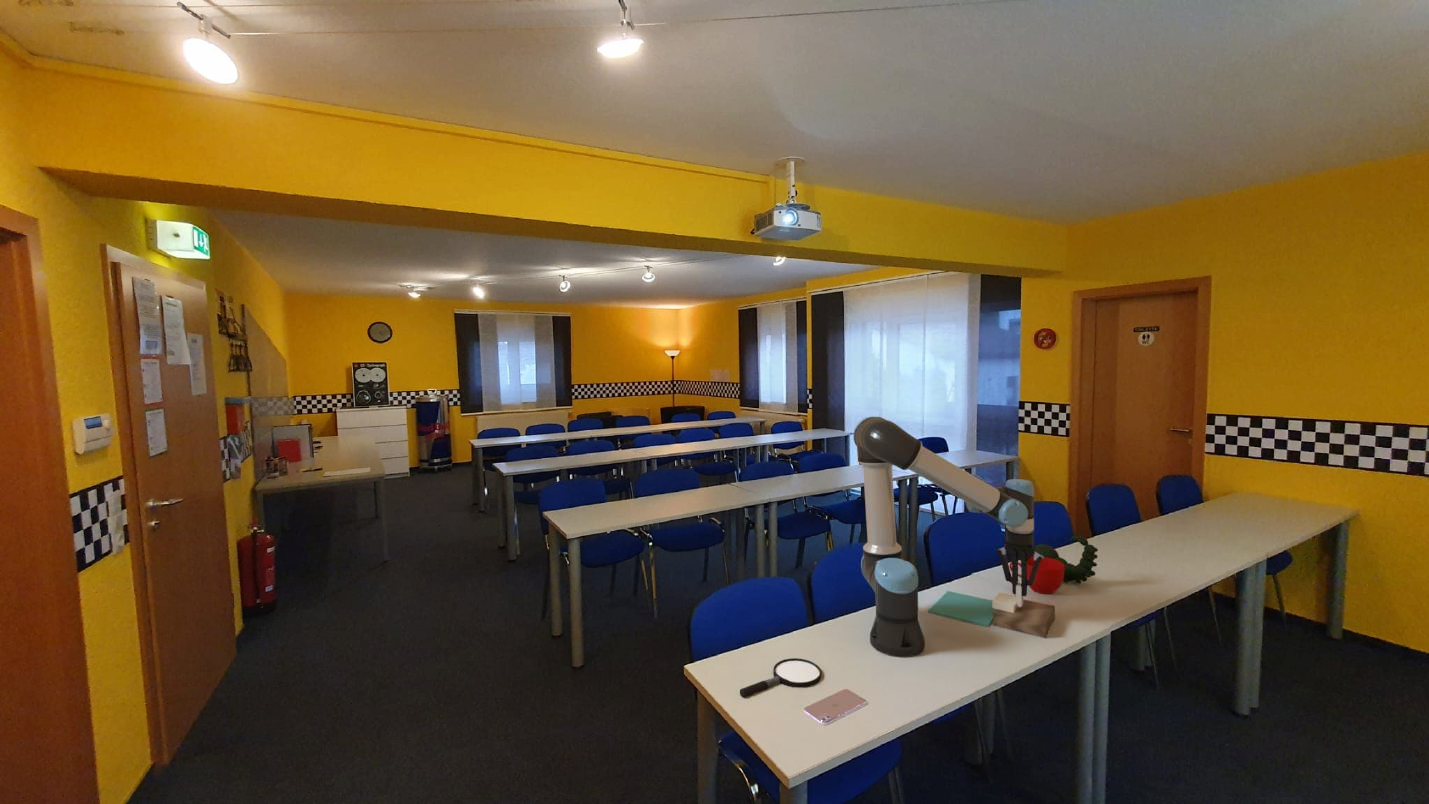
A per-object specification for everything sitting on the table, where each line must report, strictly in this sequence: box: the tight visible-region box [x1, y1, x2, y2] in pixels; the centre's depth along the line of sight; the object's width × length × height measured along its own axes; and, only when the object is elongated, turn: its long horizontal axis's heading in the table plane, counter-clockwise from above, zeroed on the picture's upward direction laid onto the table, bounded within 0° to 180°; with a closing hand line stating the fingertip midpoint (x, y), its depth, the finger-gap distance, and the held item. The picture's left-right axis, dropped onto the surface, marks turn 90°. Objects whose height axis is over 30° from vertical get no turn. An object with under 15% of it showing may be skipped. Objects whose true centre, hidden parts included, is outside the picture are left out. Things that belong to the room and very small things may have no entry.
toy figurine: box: [1032, 535, 1099, 585], centre depth 210 cm, size 9×19×25 cm
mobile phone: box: [803, 688, 868, 726], centre depth 136 cm, size 8×1×15 cm
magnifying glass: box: [739, 657, 822, 699], centre depth 147 cm, size 12×24×2 cm, turn 122°
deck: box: [992, 598, 1056, 639], centre depth 176 cm, size 14×16×4 cm
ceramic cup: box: [1008, 557, 1065, 595], centre depth 200 cm, size 13×17×10 cm
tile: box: [992, 592, 1018, 613], centre depth 179 cm, size 6×9×2 cm, turn 140°
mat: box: [927, 590, 996, 628], centre depth 187 cm, size 18×20×1 cm
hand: (1019, 605), depth 177 cm, fingers closed
